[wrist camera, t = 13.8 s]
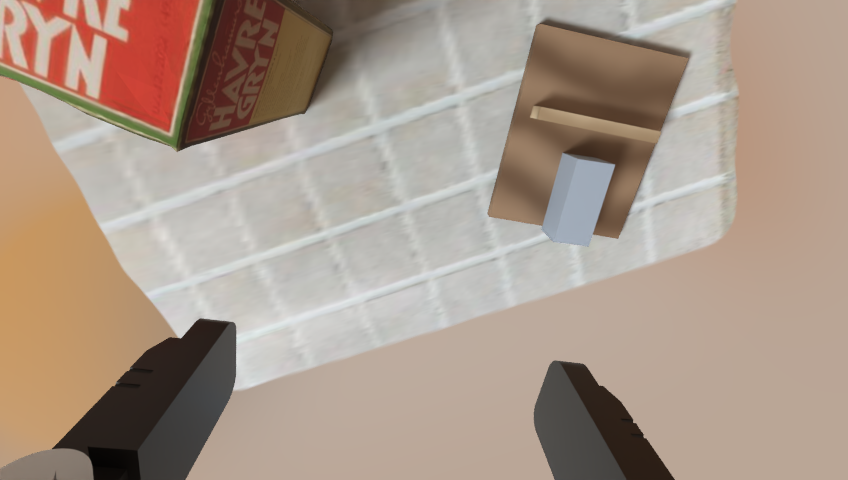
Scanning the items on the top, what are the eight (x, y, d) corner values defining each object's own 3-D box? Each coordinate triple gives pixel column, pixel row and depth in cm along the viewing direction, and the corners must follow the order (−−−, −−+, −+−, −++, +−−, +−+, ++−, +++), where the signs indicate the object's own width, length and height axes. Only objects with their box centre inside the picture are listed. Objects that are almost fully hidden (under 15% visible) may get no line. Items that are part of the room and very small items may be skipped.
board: (536, 25, 39) (549, 19, 36) (680, 59, 41) (706, 56, 38) (487, 213, 46) (494, 223, 43) (612, 235, 48) (629, 246, 45)
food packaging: (175, 59, 39) (-165, 17, 16) (199, -44, 36) (-174, -282, 13) (305, 119, 41) (181, 160, 18) (337, 28, 39) (238, -61, 15)
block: (577, 158, 39) (553, 243, 42) (615, 164, 40) (588, 247, 43) (562, 152, 43) (541, 230, 46) (597, 157, 43) (573, 235, 47)
